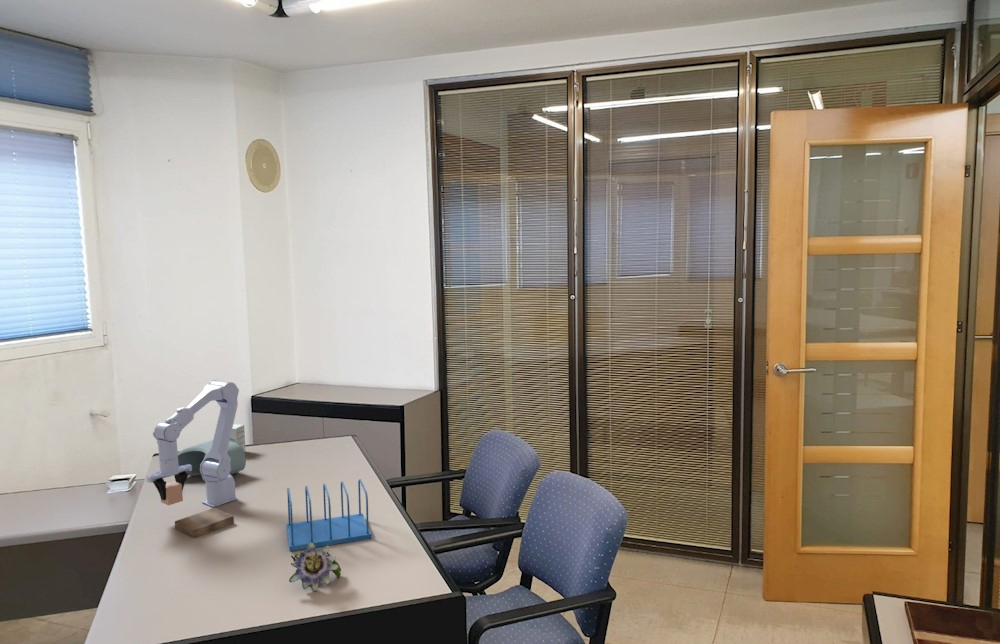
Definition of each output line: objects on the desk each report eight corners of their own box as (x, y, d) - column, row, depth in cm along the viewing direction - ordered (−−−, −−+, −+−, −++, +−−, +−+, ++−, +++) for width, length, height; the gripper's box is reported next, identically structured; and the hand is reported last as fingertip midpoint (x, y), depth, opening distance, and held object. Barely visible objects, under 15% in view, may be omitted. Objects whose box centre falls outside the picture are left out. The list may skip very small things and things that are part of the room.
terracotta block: (175, 497, 239) (174, 480, 239) (182, 500, 236) (181, 483, 235) (161, 502, 235) (159, 485, 235) (168, 505, 232) (167, 488, 232)
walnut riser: (214, 514, 241) (214, 507, 241) (233, 523, 234) (233, 515, 234) (175, 528, 230) (174, 521, 230) (194, 537, 223) (193, 530, 223)
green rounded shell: (246, 475, 281) (244, 444, 279) (204, 490, 265) (202, 457, 263) (212, 465, 292) (210, 436, 291) (170, 479, 277) (168, 448, 275)
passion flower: (316, 611, 190) (287, 584, 183) (304, 584, 200) (276, 557, 193) (353, 579, 193) (326, 551, 186) (340, 554, 203) (314, 527, 196)
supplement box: (221, 456, 305) (220, 428, 303) (231, 450, 312) (229, 423, 311) (237, 456, 304) (235, 428, 302) (246, 451, 311) (244, 424, 309)
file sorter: (289, 552, 212) (286, 504, 210) (286, 530, 228) (283, 485, 226) (371, 539, 221) (369, 492, 219) (362, 518, 237) (361, 475, 235)
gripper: (183, 450, 242) (186, 487, 244) (141, 461, 231) (144, 500, 232) (193, 454, 238) (196, 492, 239) (151, 465, 226) (154, 505, 228)
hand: (171, 496), depth 236 cm, fingers closed on terracotta block, 5 cm apart
